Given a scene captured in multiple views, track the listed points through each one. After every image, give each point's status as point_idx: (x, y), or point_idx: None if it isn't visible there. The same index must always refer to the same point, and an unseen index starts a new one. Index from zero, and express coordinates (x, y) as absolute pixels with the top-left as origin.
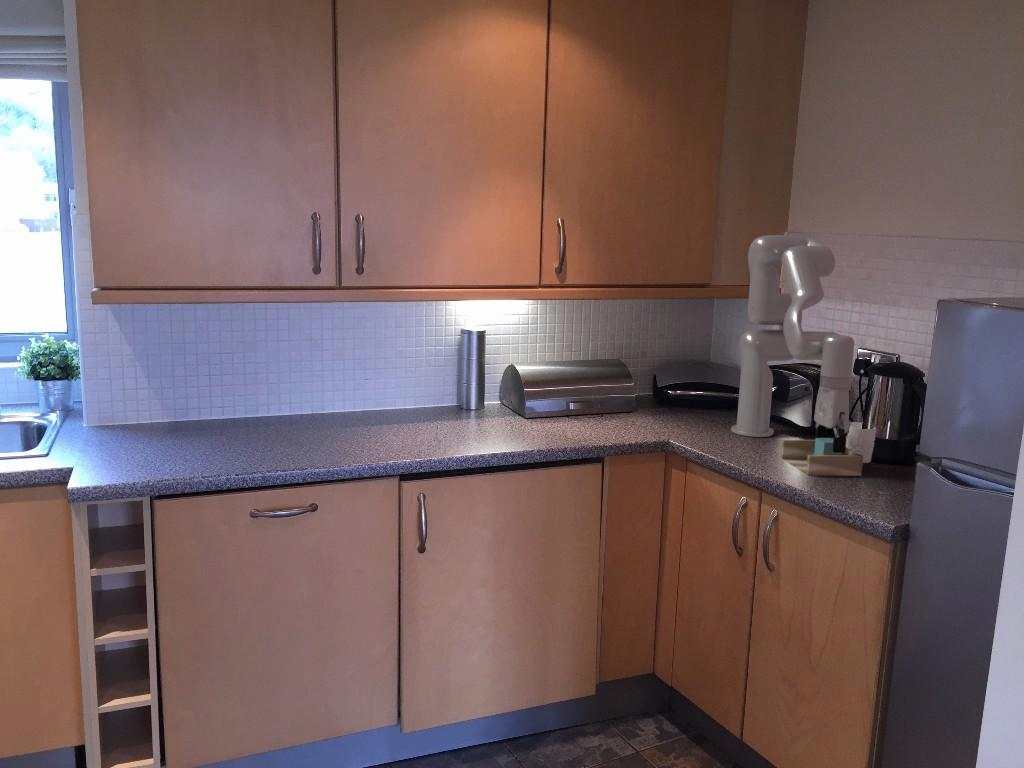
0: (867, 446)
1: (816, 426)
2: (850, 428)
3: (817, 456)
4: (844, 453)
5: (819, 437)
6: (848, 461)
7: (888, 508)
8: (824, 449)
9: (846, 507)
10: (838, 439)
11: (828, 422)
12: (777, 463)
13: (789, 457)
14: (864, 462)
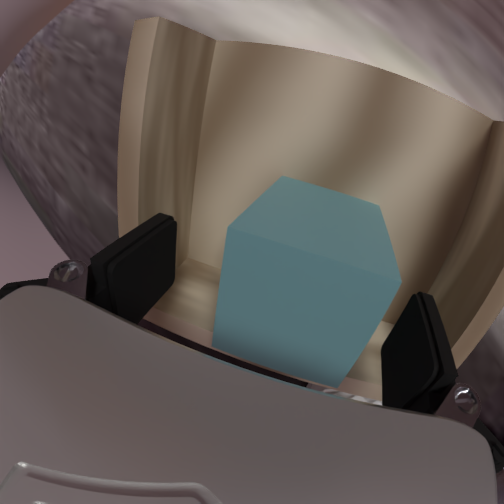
0: None
1: (467, 398)
2: None
3: (127, 65)
4: None
5: (413, 335)
6: None
7: (8, 144)
8: (246, 211)
9: (16, 61)
10: (89, 267)
11: (14, 330)
12: (455, 57)
13: (487, 156)
14: (306, 387)
